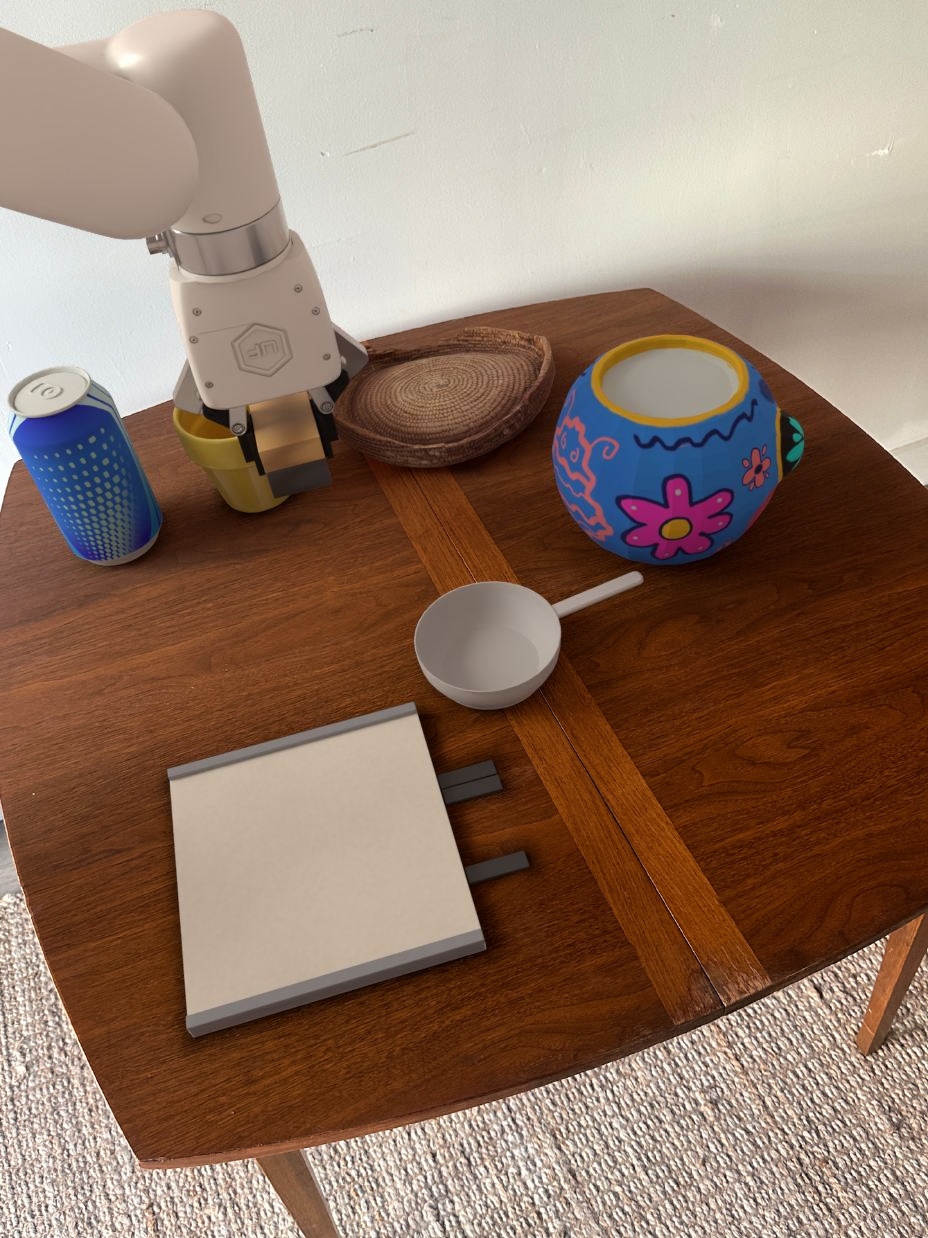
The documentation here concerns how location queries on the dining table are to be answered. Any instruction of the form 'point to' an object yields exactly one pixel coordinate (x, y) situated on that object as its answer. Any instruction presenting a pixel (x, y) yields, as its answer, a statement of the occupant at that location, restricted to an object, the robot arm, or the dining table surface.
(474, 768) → the bar
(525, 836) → the dining table surface
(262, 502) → the flower pot
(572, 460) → the ceramic pot
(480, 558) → the dining table surface
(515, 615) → the saucepan
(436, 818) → the whiteboard
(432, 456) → the basket
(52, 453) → the beer can
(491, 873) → the block
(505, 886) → the dining table surface
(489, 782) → the marker stroke
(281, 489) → the eraser
